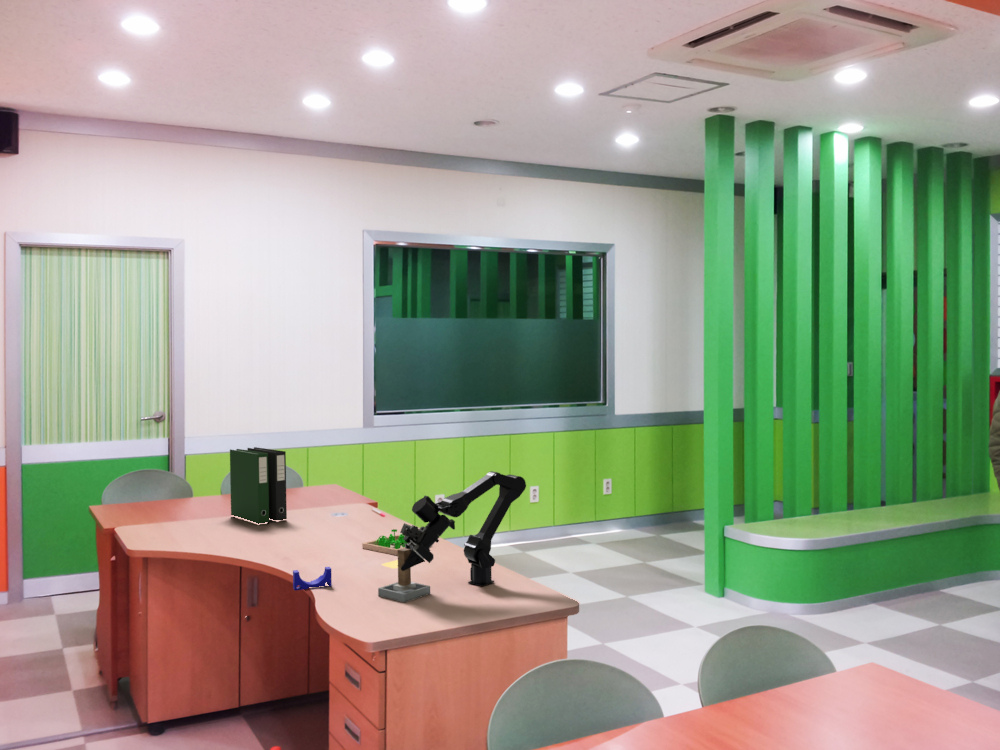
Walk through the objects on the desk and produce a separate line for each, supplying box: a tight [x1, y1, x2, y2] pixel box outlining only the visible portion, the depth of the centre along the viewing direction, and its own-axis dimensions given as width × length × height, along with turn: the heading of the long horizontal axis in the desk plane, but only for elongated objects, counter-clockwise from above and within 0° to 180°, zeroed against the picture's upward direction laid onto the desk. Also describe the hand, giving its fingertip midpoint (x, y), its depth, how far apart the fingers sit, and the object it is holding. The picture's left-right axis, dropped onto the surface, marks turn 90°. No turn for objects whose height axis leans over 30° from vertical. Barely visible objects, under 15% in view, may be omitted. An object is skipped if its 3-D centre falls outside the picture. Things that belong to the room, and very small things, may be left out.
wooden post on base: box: [393, 547, 417, 592], centre depth 270 cm, size 6×4×12 cm, turn 142°
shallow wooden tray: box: [361, 534, 405, 556], centre depth 335 cm, size 19×19×2 cm
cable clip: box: [292, 566, 333, 591], centre depth 280 cm, size 12×4×6 cm, turn 113°
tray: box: [377, 581, 431, 603], centre depth 270 cm, size 12×12×2 cm
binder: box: [229, 446, 288, 524], centre depth 394 cm, size 27×15×32 cm, turn 45°
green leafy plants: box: [376, 528, 407, 549], centre depth 336 cm, size 15×15×7 cm
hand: (400, 568), depth 269 cm, fingers closed on wooden post on base, 4 cm apart
